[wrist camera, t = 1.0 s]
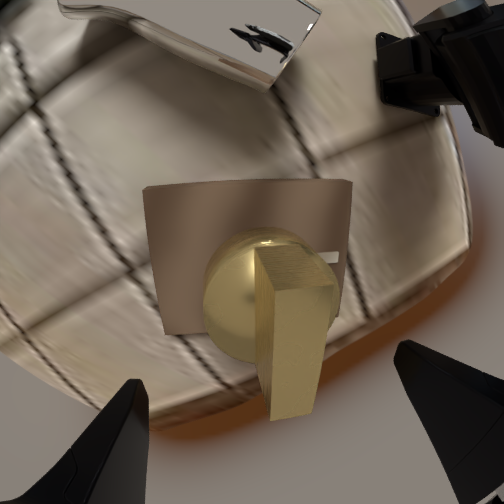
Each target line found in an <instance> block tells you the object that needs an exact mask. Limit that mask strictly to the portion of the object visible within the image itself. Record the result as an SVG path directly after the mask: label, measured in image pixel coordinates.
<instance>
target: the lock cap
mask: <svg viewBox="0 0 504 504" xmlns="http://www.w3.org/2000/svg"><path fill="white" fill-rule="evenodd" d="M339 301H340V290H339V285H338V281H337V278H336V276H335V274H334V272H333V270H332V269H331V267H330V266H329V265H328V264H327V263H326V262H325V261H324V260H323V259H322V257H321V256H320V255H319V254H318V253H317V252H316V251H315V250H314V249H313V248H312V247H311V246H310V245H309V244H308V243H307V242H306V241H304V240H303V239H302V238H301V237H299V236H298V235H296V234H295V233H293V232H290V231H288V230H285V229H282V228H277V227H257V228H252V229H248V230H245V231H242V232H240V233H238V234H236V235H234V236H232V237H231V238H229V239H228V240H226V241H225V242H224V243H223V244H222V245H221V246H220V247H218V249H217V250H216V251H215V252H214V254H213V255H212V257H211V258H210V260H209V262H208V264H207V266H206V269H205V273H204V278H203V314H204V323H205V327H206V330H207V332H208V334H209V336H210V338H211V340H212V341H213V342H214V343H215V345H216V346H217V347H218V348H219V349H221V350H222V351H223V352H224V353H226V354H227V355H229V356H231V357H233V358H235V359H238V360H240V361H244V362H248V363H255V364H256V369H257V373H258V377H259V381H260V385H261V389H262V393H263V396H264V400H265V404H266V408H267V412H268V415H269V419H270V421H274V420H279V419H285V418H291V417H296V416H302V415H306V414H311V413H312V409H313V405H314V400H315V396H316V391H317V386H318V381H319V376H320V371H321V366H322V360H323V355H324V349H325V343H326V337H327V331H328V330H329V328H330V327H331V325H332V323H333V321H334V319H335V317H336V314H337V312H338V307H339Z"/></svg>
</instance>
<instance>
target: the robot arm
mask: <svg viewBox="0 0 504 504" xmlns="http://www.w3.org/2000/svg"><path fill="white" fill-rule="evenodd" d="M413 28H414V29H415V30H416V32H417V33H418V32H419V34H418V35H415V36H413V37H406V38H404V39H401V38H398V37H395V36H393V35H390V34H387V33H384V32H380V33H378V34H377V35H376V40H377V49H378V50H377V55H378V67H379V77H380V89H381V100H382V102H383V103H384V104H386V105H390V106H395V107H399V108H403V109H407V110H411V111H415V112H419V113H423V114H426V115H430V116H433V117H438V116H439V115H440V105H464V107H465V109H466V111H467V113H468V115H469V117H470V119H471V121H472V126H473V128H474V130H475V132H477V133H479V134H482V135H484V136H486V137H488V138H489V139H491V140H492V141H493V142H494V145H495V146H498V147H501V148H504V3H503V4H499V5H494V6H490V7H489V6H488V4H487V3H486V1H485V0H456V1H453V2H451V3H448V4H446V5H443V6H441V7H439V8H437V9H436V10H434V11H433V12H431V13H430V14H429V15H427V16H426V17H424V18H423V19H421V20H420V21H418V22H417V23H416V24H414V25H413ZM381 36H382V37H383V39H384V40H383V39H382V37H381ZM386 96H387V97H388V101H387V99H386ZM434 110H435V111H434ZM394 365H395V367H396V370H397V372H398V374H399V376H400V379H401V381H402V384H403V386H404V389H405V391H406V393H407V395H408V397H409V400H410V401H411V403H412V405H413V407H414V409H415V411H416V413H417V414H418V416H419V418H420V420H421V422H422V424H423V426H424V428H425V430H426V432H427V434H428V436H429V438H430V440H431V442H432V444H433V446H434V448H435V450H436V453H437V455H438V457H439V459H440V461H441V463H442V465H443V467H444V470H445V472H446V474H447V476H448V479H449V481H450V483H451V486H452V488H453V490H454V493H455V495H456V497H457V500H458V502H459V504H476V503H478V502H479V501H481V500H482V499H483V498H485V497H486V496H488V495H489V494H490V493H491V492H493V491H494V490H495V491H496V493H497V494H496V495H495V496H493V498H491V499H490V500H489V501H488V502H487V503H486V504H504V380H502V379H499V378H497V377H494V376H492V375H489V374H487V373H485V372H482V371H480V370H478V369H475V368H473V367H471V366H468V365H466V364H464V363H462V362H459V361H457V360H455V359H453V358H450V357H448V356H446V355H443V354H441V353H439V352H437V351H434V350H432V349H430V348H428V347H425V346H423V345H421V344H419V343H416V342H414V341H412V340H409V339H408V340H404V341H401V342H400V343H399V345H398V347H397V350H396V353H395V356H394ZM148 449H149V399H148V395H147V392H146V390H145V387H144V384H143V382H142V380H141V379H129V380H127V381H126V383H125V384H124V385H123V386H122V387H121V388H120V390H119V391H118V392H117V393H116V394H115V395H114V397H113V398H112V399H111V400H110V401H109V402H108V404H107V405H106V406H105V407H104V408H103V409H102V411H101V412H100V413H99V414H98V415H97V416H96V418H95V419H94V420H93V421H92V422H91V424H90V425H89V426H88V427H87V428H86V429H85V431H84V432H83V433H82V434H81V435H80V437H79V438H78V439H77V440H76V441H75V442H74V444H73V445H72V446H71V448H69V449H68V451H67V452H66V453H65V454H64V455H63V456H62V458H61V459H60V460H59V461H58V462H57V463H56V464H55V465H54V466H53V467H52V468H51V469H50V470H49V471H48V472H47V473H46V474H45V475H44V476H43V477H42V478H41V479H40V480H39V481H37V482H36V483H35V484H34V485H33V486H32V487H31V488H30V489H29V490H28V491H26V492H25V493H24V494H23V495H21V496H20V497H18V498H16V499H13V500H9V501H2V502H0V504H145V488H146V473H147V459H148Z"/></svg>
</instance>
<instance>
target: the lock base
mask: <svg viewBox="0 0 504 504" xmlns="http://www.w3.org/2000/svg"><path fill="white" fill-rule="evenodd" d="M352 183H353V182H351V181H347V180H344V179H254V180H229V181H211V182H195V183H182V184H170V185H159V186H149V187H146V188H145V189H143V190H142V191H143V202H144V211H145V220H146V229H147V236H148V244H149V251H150V257H151V264H152V270H153V276H154V282H155V288H156V293H157V298H158V304H159V309H160V314H161V318H162V323H163V328H164V332H165V335H178V334H195V333H208V332H207V330H206V327H205V323H204V314H203V278H204V273H205V269H206V266H207V264H208V262H209V260H210V258H211V257H212V255H213V254H214V252H215V251H216V250H217V249H218V247H220V246H221V245H222V244H223V243H224V242H225V241H226V240H228V239H229V238H231V237H232V236H234V235H236V234H238V233H240V232H242V231H245V230H248V229H252V228H257V227H277V228H282V229H285V230H288V231H290V232H293V233H295V234H296V235H298V236H299V237H301V238H302V239H303V240H304V241H306V242H307V243H308V244H309V245H310V246H311V247H312V248H313V249H314V250H315V251H316V252H317V253H318V254H319V255H320V256H321V257H322V259H323V260H324V261H325V262H326V263H327V264H328V265H329V266H330V267H331V269H332V270H333V272H334V274H335V276H336V278H337V281H338V285H339V290H340V301H339V307H338V312H337V314H336V317H338V315H339V309H340V302H341V296H342V289H343V281H344V274H345V266H346V257H347V248H348V238H349V227H350V215H351V200H352Z"/></svg>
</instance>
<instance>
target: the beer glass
mask: <svg viewBox="0 0 504 504" xmlns="http://www.w3.org/2000/svg"><path fill="white" fill-rule="evenodd" d="M57 1H58V8H59V11H60V13H61V14H62V15H63V16H64V17H66V18H68V19H72V20H104V21H109V22H112V23H115V24H118V25H121V26H123V27H125V28H127V29H129V30H131V31H133V32H135V33H137V34H138V35H140V36H142V37H144V38H146V39H147V40H149V41H151V42H153V43H154V44H156V45H158V46H160V47H161V48H163V49H165V50H167V51H169V52H171V53H173V54H175V55H177V56H178V57H180V58H182V59H185V60H187V61H189V62H191V63H193V64H196V65H198V66H200V67H202V68H205V69H207V70H210V71H212V72H214V73H217V74H219V75H222V76H224V77H227V78H229V79H232V80H234V81H237V82H239V83H242V84H244V85H247V86H249V87H251V88H254V89H256V90H258V91H260V92H262V93H263V94H264V93H266V92H267V91H268V90H269V88H270V87H271V86H272V85H273V83H274V82H275V81H276V79H277V78H278V76H279V75H280V74H281V72H282V71H283V70H284V68H285V67H286V65H287V64H288V63H289V61H290V60H291V58H292V57H293V56H294V54H295V53H296V51H297V50H298V49H299V47H300V46H301V44H302V43H303V41H304V40H305V39H306V37H307V36H308V34H309V33H310V31H311V30H312V28H313V27H314V25H315V24H316V22H317V21H318V19H319V17H320V16H321V14H322V10H321V9H319V8H317V7H316V6H314V5H313V4H311V3H310V2H308V1H307V0H57Z"/></svg>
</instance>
